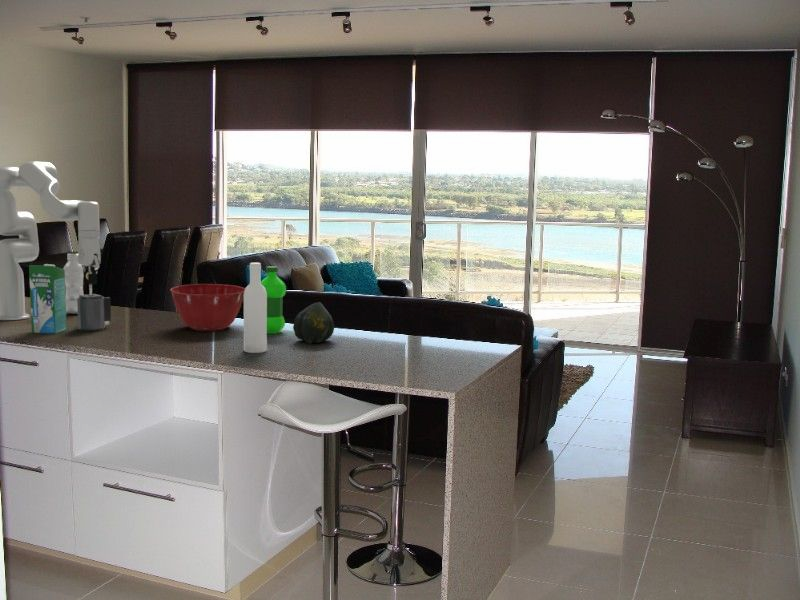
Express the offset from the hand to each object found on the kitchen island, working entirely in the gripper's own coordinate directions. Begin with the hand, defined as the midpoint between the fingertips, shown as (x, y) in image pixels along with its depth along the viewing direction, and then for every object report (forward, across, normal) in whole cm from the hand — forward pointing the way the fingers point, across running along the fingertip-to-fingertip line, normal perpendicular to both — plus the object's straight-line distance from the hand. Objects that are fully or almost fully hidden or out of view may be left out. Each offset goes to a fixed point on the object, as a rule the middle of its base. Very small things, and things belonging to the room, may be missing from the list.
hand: (90, 283), depth 327 cm
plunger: (+12, 0, 0) cm, 12 cm away
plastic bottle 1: (+18, -37, +10) cm, 42 cm away
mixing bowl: (+18, +24, +36) cm, 47 cm away
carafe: (+17, 0, +1) cm, 17 cm away
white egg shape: (+18, -8, +7) cm, 20 cm away
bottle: (+18, +71, +25) cm, 77 cm away
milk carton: (+18, -5, -14) cm, 23 cm away
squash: (+18, +70, +51) cm, 88 cm away
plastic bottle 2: (+18, +46, +50) cm, 70 cm away
